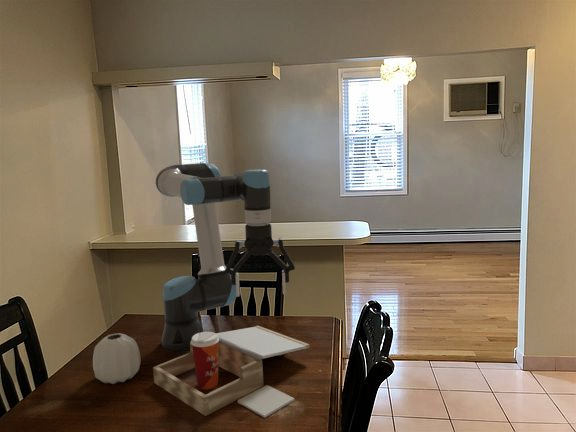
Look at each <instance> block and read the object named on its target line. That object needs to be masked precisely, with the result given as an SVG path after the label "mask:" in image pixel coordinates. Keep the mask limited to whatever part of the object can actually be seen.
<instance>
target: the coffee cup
mask: <svg viewBox="0 0 576 432" xmlns="http://www.w3.org/2000/svg"><path fill="white" fill-rule="evenodd" d="M218 341H219V338H218V336H217V334H216V333H215V332H213V331H203V332H201V333H197V334H195V335H194V336H193V337H192V340H191V345H192V349H193V356H194V363H195V368H194V369H195V376H196V377H195V378H196V382H197V388H198V389H201V390H206V391H207V390H213V389H214V388H216V387H217V386H218V385H219V366H218Z"/></svg>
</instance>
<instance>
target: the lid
mask: <svg viewBox="0 0 576 432" xmlns="http://www.w3.org/2000/svg"><path fill="white" fill-rule="evenodd" d="M216 334H217V336H218V338H219V341H218V342H219V343H221V344H223V345H225V346H228V347H230V348H232V349H234V350H237V351H239V352H241V353H243V354H246V355H248V356H250V357H253V358H255V359H257V360H262V361H263V360H264V359H267V358H271V357H275V356H277V355H280V354H283V355H285V354H289V353H291V352H296V351H301V350H307V349H310V343H307V342H304V341H301V340H298V339H296V338H293V337H290V336H287V335H285V334H282V333H280V332H277V331H274V330H271V329H269V328H265V327H264V326H260V325H255V326H251V327H244V328H240V329H235V330H228V331H223V332H217V333H216ZM284 353H285V354H284Z"/></svg>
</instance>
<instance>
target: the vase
mask: <svg viewBox="0 0 576 432" xmlns="http://www.w3.org/2000/svg"><path fill="white" fill-rule="evenodd" d="M92 354H93V356H92V369H93V372H94V377H95V378H96V379H97V380H99V381H100V382H102V383H104V384H112V385H115V384H118V383H124V382H126V380H130V379H132V378H133V377H134V376H135V375H136V374H137V373H138V372H139V370H140V365H141V361H142V360H141V353H140V349H139V346H138V343H137V342H136V340H135V339H134V338H132V337H131V336H128V335H127V334H125V333H119V332H118V333H112V334H108V335H107V336H105V337H103V338H102V339H101V340H99V342H98V343H96V345H95V346H94V349H93V353H92Z"/></svg>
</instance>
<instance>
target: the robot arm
mask: <svg viewBox="0 0 576 432" xmlns="http://www.w3.org/2000/svg"><path fill="white" fill-rule="evenodd" d="M155 186H156V189H157V191H158V192H159V193H161V194H162V195H163V196H166V197H170V198H172V197H178V198H181V200H182V202H183V204H184V205H186V206H192V212H193V219H194V227H195V233H196V239H197V246H198V253H199V254H198V255H199V260H200V270H199V272H198V273H197V277H198V278H196V277H195V276H192V275H185V276H182V275H181V276H177V277H174V278H172V279H170V280H168V281H167V282H165V283H164V285H163V287H162V298H161V299H162V301H163V310H164V311H163V313H164V314H163V315H164V326H163V327H164V328H163V333H162V336H161V347H162V348H163V349H165V350H168V351H173V352H179V351H180V352H183V351H189V350H190V343H191V340H192V337H193V336H194V335H195V334H197V333H201V332H204V330H203V328H202V325H201V322H200V321H199V313H200V312H202V311H208V310H213V309H217V308H224V307H225V306H226V307H227V306H230V305H232V304H233V303H234V302H235V301H236V298H238V297H240V277H239V276H240V275H239V270H240V269H241V268H242V266H243V265H244V264H245V262H246V261H248V258H250V257H251V256H254V257H257V256H266V255H268V256H269V257H270V258H271V259H273V261H274V262H275V263H276V264H277V265H278V266H279V267H280V268H281V269H282V270H281V277H282V278H281V279H282V281H281V284H282V294H283V295H286V290H287V289H286V283H289V282H290V271H294V270H295V268H296V266H295V264H294V262H293V260H292V259H291V257H290V255H289V253H288V252H287V250H286V248H285V246H284V243H283V242H284V241H283V239H282V238H281V237H278V239H273V237H272V236H273V235H272V233H273V232H272V224H271V222H272V212H271V210H272V209H271V181H270V172H269V170H267V169H259V168H258V169H246V170H244V171H243V173H242V174H241V173H239V174H238V173H237V174H232V175H227V176H226V175H224V176H222V175H221V172H220V170H219V168H218V167H217V165H215V164H214V163H211V162H209V163H206V162H200V163H186V164H173V165H169V166H166V167H164V168H163V169H161V170H160V172H159V173H158V174H157V175H156V178H155ZM236 201H243V203H244V205H243V206H244V222H245V240H239V239H236V240H235V244H234V250H233V251H232V253H231V256H230V258H229V260H228V263H227V264H225V260H224V259H225V258H224V253H223V248H222V247H223V246H222V239H221V233H220V226H219V219H218V213H217V212H218V211H217V204H216V203H224V202H236ZM274 245H275V246H276V248H279V250H280V252H281V254H282V256H283V257H284V259H285V261H286V263H287V264H288V265H287V264H286V263H285V262H284V261H283V260H282V259H281V258H280V257H279V255H277V254H276V253H275V252H274V250H273V249H272V247H273V246H274ZM243 246H244V247H245V248H246V249H247V250H246V251H245V253H244V254H243V255H242V257H241V258H240V259H239V260H238V262H237V263H235V266H233V265H234V262H235V260H236V257H237V255H238V253H239V250H240V249H242V248H243ZM232 267H233V268H232Z"/></svg>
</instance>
